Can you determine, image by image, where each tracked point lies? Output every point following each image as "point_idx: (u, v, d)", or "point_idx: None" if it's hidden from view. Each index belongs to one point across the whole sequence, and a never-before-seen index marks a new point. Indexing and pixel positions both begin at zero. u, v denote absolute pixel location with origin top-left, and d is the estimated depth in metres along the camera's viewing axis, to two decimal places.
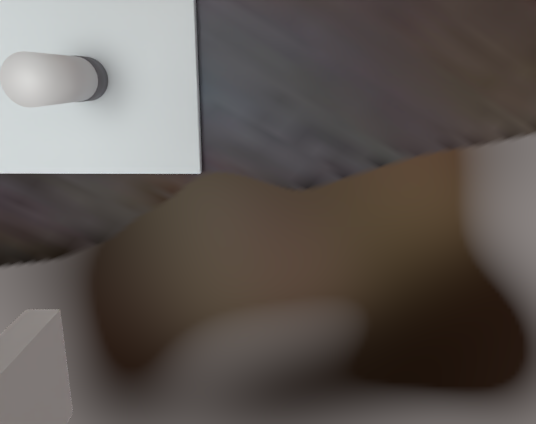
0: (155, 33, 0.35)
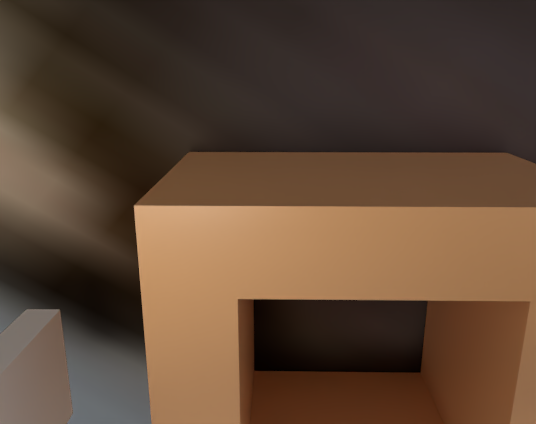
0: None
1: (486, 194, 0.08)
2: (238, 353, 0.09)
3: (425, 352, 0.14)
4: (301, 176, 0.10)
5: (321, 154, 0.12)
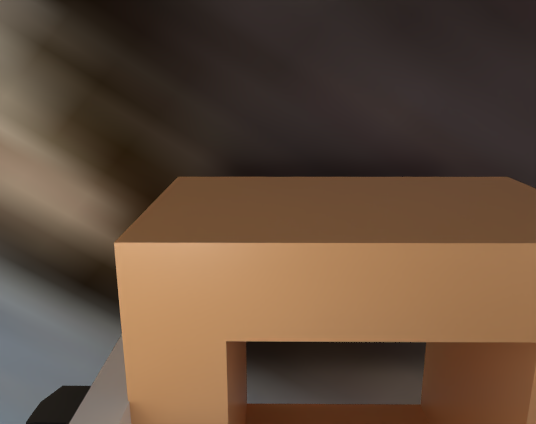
0: None
1: (490, 227, 0.08)
2: (227, 398, 0.08)
3: (425, 384, 0.13)
4: (294, 206, 0.09)
5: (315, 179, 0.12)
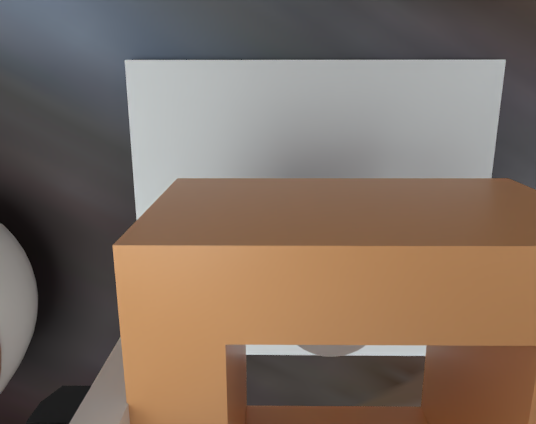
0: (430, 152, 0.22)
1: (491, 229, 0.08)
2: (226, 402, 0.08)
3: (426, 386, 0.13)
4: (294, 208, 0.09)
5: (315, 181, 0.12)
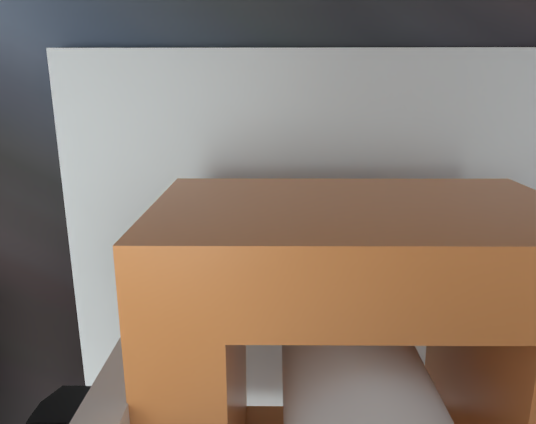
0: None
1: (491, 230, 0.08)
2: (226, 402, 0.08)
3: None
4: (294, 208, 0.09)
5: (315, 181, 0.12)
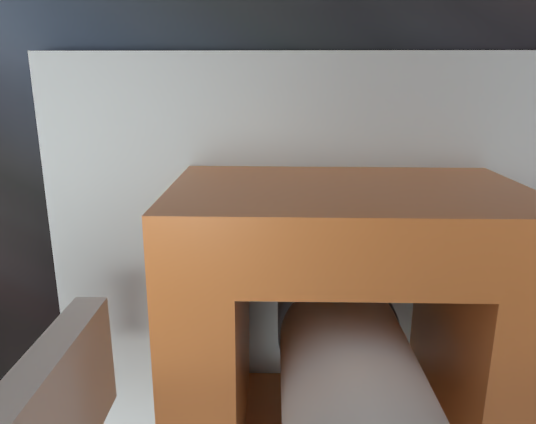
0: None
1: (460, 207, 0.09)
2: (235, 351, 0.09)
3: None
4: (293, 189, 0.11)
5: (313, 168, 0.13)
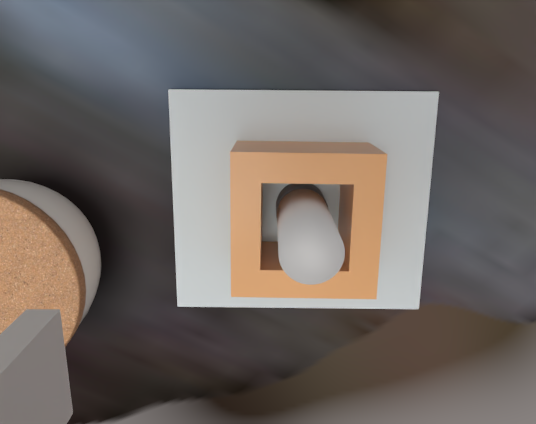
0: None
1: (342, 151, 0.26)
2: (260, 203, 0.26)
3: (338, 231, 0.31)
4: (282, 147, 0.27)
5: (291, 141, 0.30)
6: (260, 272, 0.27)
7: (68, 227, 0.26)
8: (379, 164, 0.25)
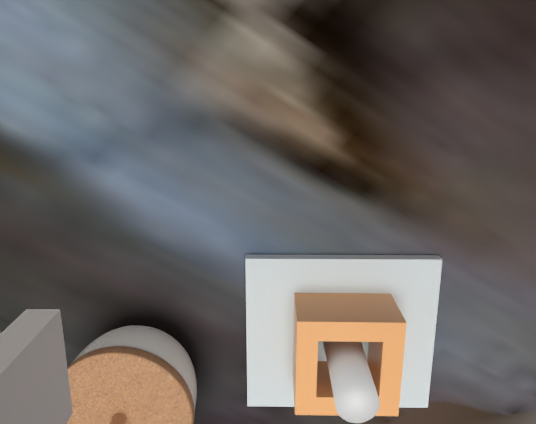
0: (404, 303, 0.41)
1: (374, 317, 0.37)
2: (317, 353, 0.37)
3: (368, 354, 0.42)
4: (331, 308, 0.38)
5: (335, 294, 0.41)
6: (316, 398, 0.38)
7: (181, 369, 0.37)
8: (401, 329, 0.36)
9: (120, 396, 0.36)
